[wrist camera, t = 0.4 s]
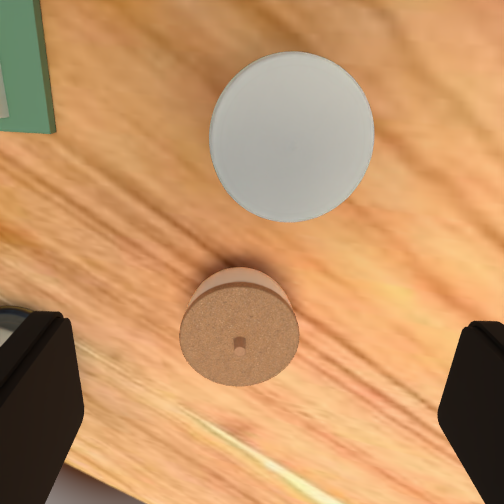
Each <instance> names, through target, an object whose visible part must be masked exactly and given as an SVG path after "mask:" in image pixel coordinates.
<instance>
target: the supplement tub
mask: <svg viewBox="0 0 504 504" xmlns="http://www.w3.org/2000/svg"><path fill="white" fill-rule="evenodd" d="M373 145H374V122H373V116H372V112H371V109H370V106H369V103H368V101H367V98H366V96H365V94H364V92H363V90H362V89H361V87H360V86H359V85H358V83H357V82H356V81H355V79H354V78H353V77H352V76H351V75H350V74H349V73H348V72H347V71H345V70H344V69H343V68H342V67H340V66H339V65H337V64H335V63H334V62H332V61H330V60H328V59H325V58H323V57H320V56H317V55H314V54H310V53H305V52H298V51H289V52H279V53H275V54H271V55H267V56H265V57H262V58H260V59H258V60H256V61H254V62H252V63H251V64H249V65H248V66H246V67H245V68H243V69H242V70H241V71H240V72H239V73H238V74H236V75H235V76H234V77H233V78H232V80H231V81H230V82H229V83H228V84H227V86H226V87H225V89H224V90H223V92H222V93H221V95H220V97H219V99H218V101H217V103H216V105H215V108H214V111H213V114H212V118H211V123H210V130H209V147H210V154H211V158H212V162H213V165H214V168H215V171H216V173H217V176H218V178H219V180H220V182H221V183H222V185H223V187H224V188H225V190H226V191H227V192H228V194H229V195H230V196H231V197H232V198H233V199H234V200H235V201H236V202H237V203H238V204H239V205H241V206H242V207H243V208H245V209H246V210H247V211H249V212H251V213H253V214H255V215H257V216H259V217H262V218H265V219H268V220H272V221H278V222H300V221H306V220H310V219H313V218H316V217H319V216H321V215H323V214H326V213H327V212H329V211H331V210H333V209H334V208H336V207H337V206H338V205H340V204H341V203H342V202H343V201H345V200H346V199H347V198H348V197H349V196H350V195H351V193H352V192H353V191H354V190H355V189H356V187H357V186H358V184H359V183H360V182H361V180H362V178H363V176H364V174H365V172H366V170H367V168H368V165H369V163H370V159H371V156H372V151H373Z"/></svg>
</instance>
